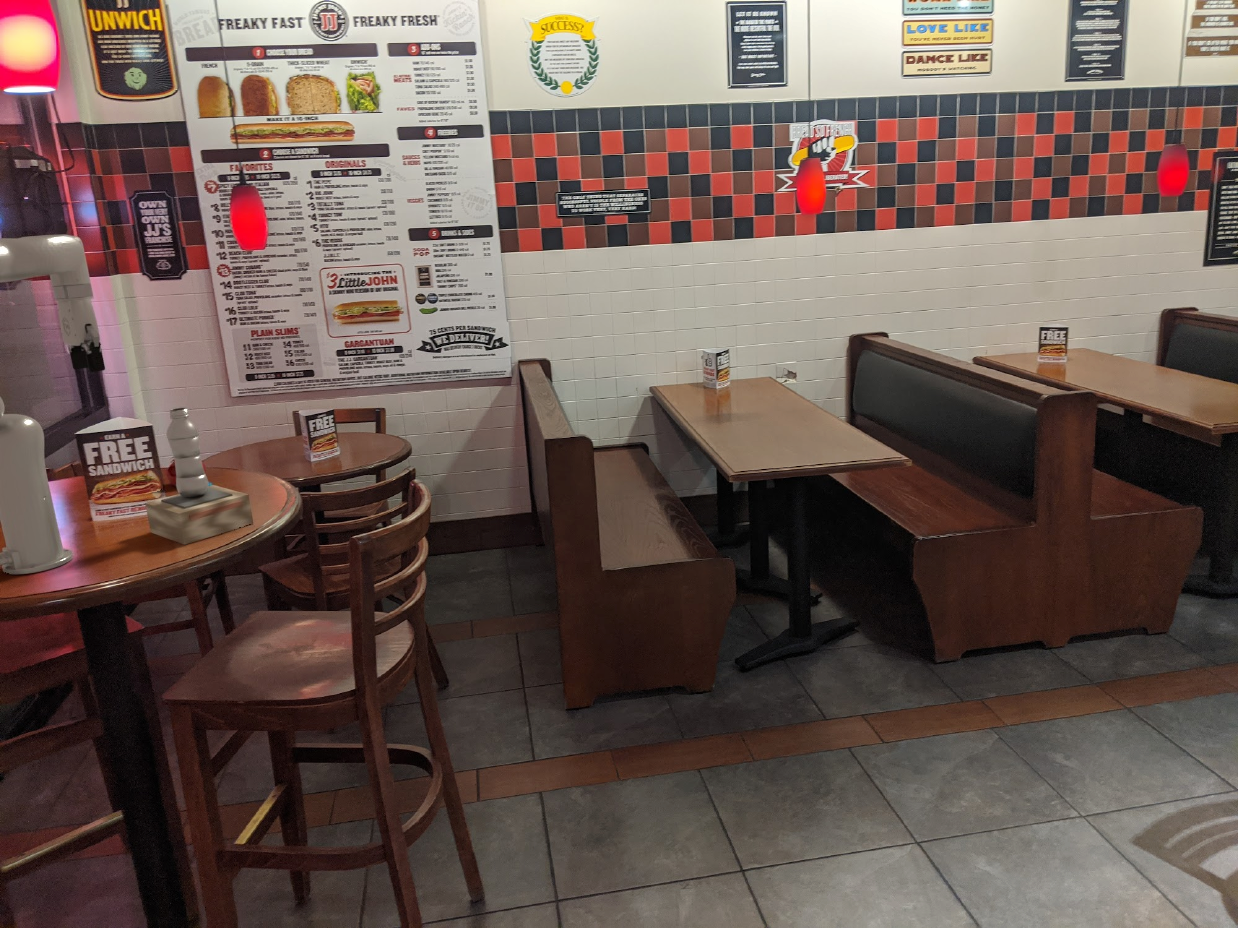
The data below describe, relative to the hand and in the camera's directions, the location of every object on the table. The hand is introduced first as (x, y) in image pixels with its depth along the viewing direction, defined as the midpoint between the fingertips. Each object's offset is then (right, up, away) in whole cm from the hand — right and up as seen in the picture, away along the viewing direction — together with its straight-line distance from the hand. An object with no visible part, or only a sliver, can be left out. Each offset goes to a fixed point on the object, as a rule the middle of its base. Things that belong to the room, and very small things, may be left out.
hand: (89, 369), depth 208 cm
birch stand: (+25, -36, 0) cm, 44 cm away
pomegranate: (+4, -27, +41) cm, 49 cm away
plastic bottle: (+24, -29, 0) cm, 38 cm away
